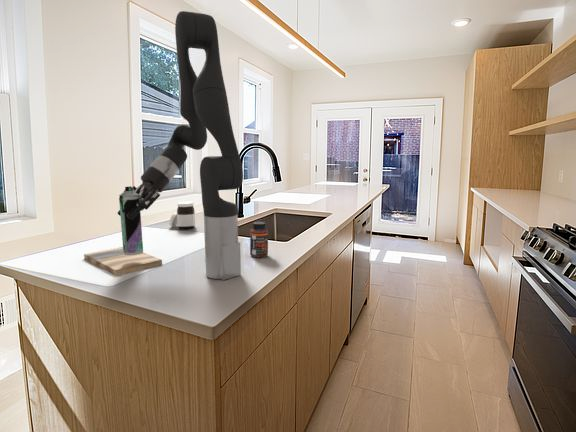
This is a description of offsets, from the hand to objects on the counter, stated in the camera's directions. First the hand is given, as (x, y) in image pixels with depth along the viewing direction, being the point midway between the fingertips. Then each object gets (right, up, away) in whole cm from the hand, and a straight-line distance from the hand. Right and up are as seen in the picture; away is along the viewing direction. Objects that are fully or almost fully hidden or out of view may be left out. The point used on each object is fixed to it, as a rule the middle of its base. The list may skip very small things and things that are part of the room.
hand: (124, 216), depth 108 cm
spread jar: (0, -5, +60) cm, 60 cm away
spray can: (+1, -11, +3) cm, 12 cm away
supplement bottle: (+38, -13, +16) cm, 43 cm away
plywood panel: (-5, -14, +9) cm, 18 cm away
